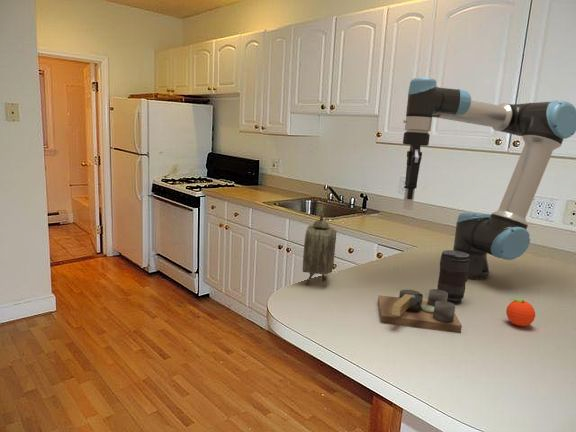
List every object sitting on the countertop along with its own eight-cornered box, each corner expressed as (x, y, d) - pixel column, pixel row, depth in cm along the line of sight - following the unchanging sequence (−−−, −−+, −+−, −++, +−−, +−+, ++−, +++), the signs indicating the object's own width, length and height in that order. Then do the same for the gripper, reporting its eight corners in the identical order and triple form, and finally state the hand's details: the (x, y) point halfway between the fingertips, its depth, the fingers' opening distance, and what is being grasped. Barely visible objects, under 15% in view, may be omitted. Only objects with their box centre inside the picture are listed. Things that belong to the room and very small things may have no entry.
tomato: (496, 322, 115) (500, 297, 114) (505, 316, 120) (509, 292, 119) (528, 333, 110) (533, 307, 108) (536, 326, 115) (540, 301, 113)
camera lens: (440, 293, 135) (446, 248, 132) (466, 300, 130) (473, 253, 127) (431, 299, 129) (437, 252, 126) (458, 307, 124) (465, 258, 121)
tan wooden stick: (402, 301, 120) (404, 287, 119) (423, 306, 117) (425, 292, 116) (383, 318, 107) (385, 302, 107) (406, 325, 104) (408, 309, 103)
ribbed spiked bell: (306, 272, 147) (312, 201, 142) (332, 275, 146) (339, 204, 141) (301, 286, 133) (306, 208, 128) (329, 289, 132) (336, 211, 127)
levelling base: (448, 309, 122) (451, 290, 121) (460, 333, 107) (464, 310, 106) (377, 301, 125) (380, 282, 123) (380, 322, 110) (383, 301, 109)
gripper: (401, 131, 133) (393, 205, 138) (406, 130, 121) (397, 211, 125) (426, 133, 132) (417, 207, 137) (433, 132, 120) (423, 213, 124)
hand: (407, 209), depth 131 cm, fingers closed
